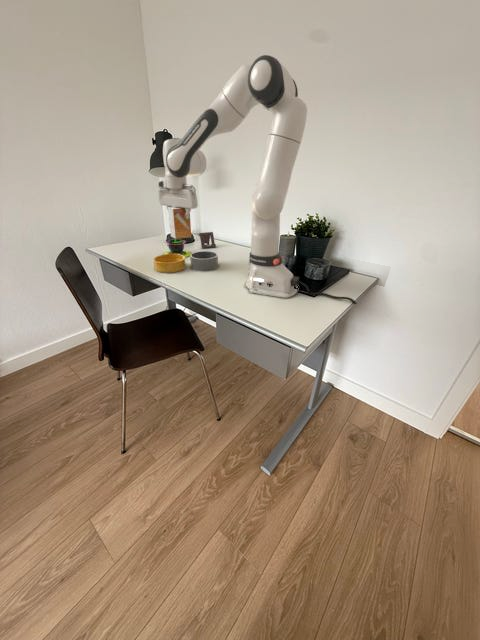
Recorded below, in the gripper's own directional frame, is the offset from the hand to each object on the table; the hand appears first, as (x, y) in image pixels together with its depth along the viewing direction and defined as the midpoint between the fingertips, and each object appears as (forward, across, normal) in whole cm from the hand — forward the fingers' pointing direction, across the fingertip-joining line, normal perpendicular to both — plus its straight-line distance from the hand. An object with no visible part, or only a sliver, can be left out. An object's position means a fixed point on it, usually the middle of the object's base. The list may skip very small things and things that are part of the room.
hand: (179, 217), depth 122 cm
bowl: (+24, +5, +4) cm, 25 cm away
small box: (+9, 0, 0) cm, 9 cm away
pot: (+24, -8, -7) cm, 26 cm away
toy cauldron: (+24, +18, -14) cm, 33 cm away
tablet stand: (+24, +14, -37) cm, 46 cm away
